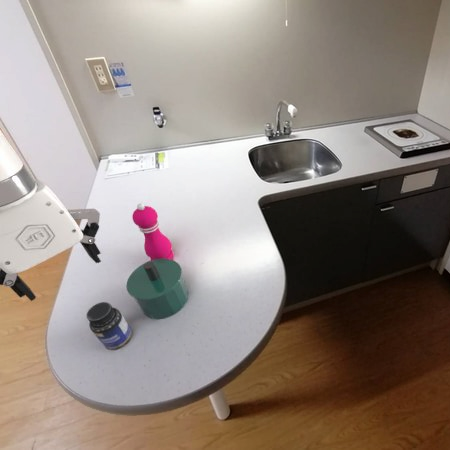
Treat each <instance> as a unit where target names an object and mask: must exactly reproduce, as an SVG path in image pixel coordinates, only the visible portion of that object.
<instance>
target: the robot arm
mask: <svg viewBox="0 0 450 450" xmlns="http://www.w3.org/2000/svg"><path fill="white" fill-rule="evenodd" d="M100 216H101V214H100V212H99V210H98V209H96V208H78V209H76V208H75V209H67V208H66V206H65V205H64V204H63V202H62V201H61V200H60V199H59V198H58V196H57V195H56V194H55V193H54V192H53V190H52V189H51V188H50V187H49V186H48V185H46V183H44V182H43V181H41V180H39V179H35V178H34V177H33V176H32V174H31V173H30V171H29V170H28V169H27V167H26V165H25V164H24V162H23V161H22V160H21V158H20V156H19V155H18V154H17V152H16V150H15V149H14V148H13V146H12V144H11V143H10V142H9V140H8V138H7V137H6V136H5V134H4V133H3V131H2V130H1V129H0V286H4V287H6V288H10V289H11V291H13V292H14V294H16V295H17V296H18V297H19V298H22V297H25V296H26V297H27V298H28V299H29V301H30V302H32V301H34V300H36V298H37V296H36V295H35V293H34V291H32V289H31V288H30V287H29V286H28V284H27V283H26V282H25V281H24V280H23V279H22V278H21V277H20V276H19V274H20V273H22V272H25V271H28V270H29V269H32V268H33V267H36V266H38V265H39V264H41V263H43V262H45V261H48V260H50V259H51V258H53V257H55V256H57V255H59V254H61V253H63V252H65V251H67V250H69V249H70V248H72V247H74V246H76V245H77V244H81V246H82V247H83V249H84V250H85V252H86V254H87V255H88V257H90V258H91V260H92V261H94V263H95V264H99V263H101V262H102V260H101V259H100V257H99V255H101V251H100V249H99V247H98V246H97V244H96V243H95V242H96V235H97V233H98V232H99V229H100V225H99V223H100V218H101V217H100ZM76 220H87V221H86V224H85V226H84V228H83V229H82V228H81V227H80V226H79V224H78V223H77V221H76Z"/></svg>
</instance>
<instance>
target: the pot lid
mask: <svg viewBox="0 0 450 450" xmlns="http://www.w3.org/2000/svg"><path fill="white" fill-rule="evenodd" d="M181 277H183V270H182V267H181V265H180V264H179V263H178V262H177V261H176V260H173V259H172V260H171V259H155V260H152V261H151V260H148V261H146V262H144V263H142V264H141V265H139V266H138V267H137V268H135V269H134V270H133V271H132V272H131V273H130V275H129V277H128V278H127V280H126V291H127V293H128V294H129V295H130V296H131V297H132V298H133V299H134V298H136V299H139V300H152V299H156V298H159V297H161V296H164V295H165V294H167V293H169V292H170V291H171V290H173V289H174V288H175V287H176V286H177V284H178V283H179V281H180V279H181Z"/></svg>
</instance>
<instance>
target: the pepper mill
mask: <svg viewBox="0 0 450 450" xmlns="http://www.w3.org/2000/svg"><path fill="white" fill-rule="evenodd" d="M131 216H132V217H131V218H132V222H133V224H135V225H136V226H137V227H138V229H139V232H141V233H143V236H144V245H143V247H144V249H143V250H144V252H145V254H146V255H147V257H148V258H150V259H149V260H150V261H152V260H155V259H171V260H173V259H174V256H175V254H174V251H173V245H172V242H171V240H170V239H169V238H168V237H167V236H166V235H164V233H162V232H161V230H160V228H159V227H160V222H159V220H158V218H159V217H158V212H157V211H156V209H155V208H153V207H151V206H148V205H145V204H143V203H138V204H137V206H136V209H135V210H134V211H133V213H132V215H131Z"/></svg>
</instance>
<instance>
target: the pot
mask: <svg viewBox="0 0 450 450" xmlns="http://www.w3.org/2000/svg"><path fill="white" fill-rule="evenodd" d="M133 299H134V301H135V302H136V304H137V306H138V308H139V309H140V311H141V312H142V313H143V315H144V316H145V317H147V318H148V319H153V320H163V319H167V318H170V317H172V316H174V315H176V314H177V313H179V312H180V311H181V310H182V309H183V308H184V307H185V306H186V304H187V303H188V299H189V291H188V288H187V285H186V283H185V280H184V276H182V277H181V279H180V281H179V283H178V284H177V286H176V287H175V288H174V289H173V290H171V291H170V292H169V293H167V294H165V295H164V296H161V297H159V298H156V299H152V300H139V299H136V298H134V297H133Z"/></svg>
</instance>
